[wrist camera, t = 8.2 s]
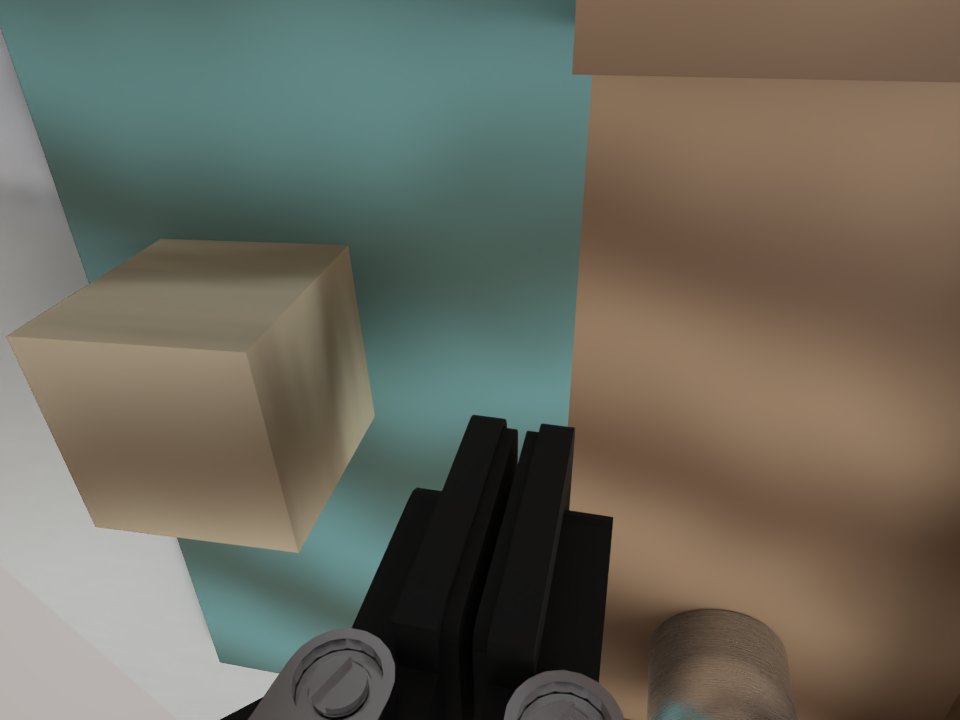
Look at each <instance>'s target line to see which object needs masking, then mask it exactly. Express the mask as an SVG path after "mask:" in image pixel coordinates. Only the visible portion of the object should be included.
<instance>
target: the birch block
mask: <svg viewBox="0 0 960 720" xmlns="http://www.w3.org/2000/svg"><path fill="white" fill-rule="evenodd" d="M6 337H7V339H8V341H9V343H10V346H11V348H12V350H13V352H14V354H15V356H16V358H17V361H18V363H19V365H20V367H21V369H22V371H23V373H24V375H25V378H26V380H27V382H28V384H29V386H30V388H31V390H32V393H33V395H34V397H35V399H36V401H37V403H38V405H39V407H40V410H41V412H42V414H43V416H44V418H45V420H46V422H47V425H48V427H49V429H50V431H51V433H52V435H53V437H54V439H55V442H56V444H57V446H58V448H59V450H60V452H61V454H62V457H63V459H64V461H65V463H66V465H67V467H68V469H69V471H70V474H71V476H72V478H73V480H74V482H75V484H76V486H77V489H78V491H79V493H80V495H81V497H82V499H83V501H84V504H85V506H86V508H87V510H88V512H89V514H90V516H91V518H92V521H93V523H94V525H95V527H100V528H108V529H115V530H123V531H131V532H139V533H147V534H154V535H162V536H170V537H178V538H186V539H193V540H201V541H209V542H217V543H225V544H232V545H240V546H248V547H256V548H264V549H271V550H279V551H287V552H295V553H299V551H300V550H301V548H302V546H303V544H304V542H305V541H306V539H307V537H308V535H309V533H310V532H311V530H312V528H313V526H314V524H315V523H316V521H317V519H318V517H319V515H320V514H321V512H322V510H323V508H324V507H325V505H326V503H327V501H328V499H329V498H330V496H331V494H332V492H333V490H334V489H335V487H336V485H337V483H338V481H339V480H340V478H341V476H342V474H343V472H344V471H345V469H346V467H347V465H348V463H349V462H350V460H351V458H352V456H353V454H354V453H355V451H356V449H357V447H358V445H359V444H360V442H361V440H362V438H363V436H364V435H365V433H366V431H367V429H368V428H369V426H370V424H371V422H372V420H373V419H374V417H375V414H374V407H373V401H372V394H371V388H370V382H369V375H368V369H367V363H366V356H365V350H364V343H363V337H362V331H361V324H360V318H359V312H358V305H357V299H356V292H355V286H354V280H353V273H352V267H351V261H350V254H349V248H348V245H331V244H301V243H271V242H241V241H211V240H181V239H160V240H158V241H156V242H155V243H153V244H152V245H150V246H148V247H147V248H145V249H144V250H142V251H140V252H139V253H137V254H136V255H134V256H133V257H131V258H129V259H128V260H126V261H125V262H123V263H121V264H120V265H118V266H117V267H115V268H114V269H112V270H110V271H109V272H107V273H106V274H104V275H102V276H101V277H99V278H98V279H96V280H94V281H93V282H91V283H90V284H88V285H87V286H85V287H83V288H82V289H80V290H79V291H77V292H75V293H74V294H72V295H71V296H69V297H68V298H66V299H64V300H63V301H61V302H60V303H58V304H56V305H55V306H53V307H52V308H50V309H48V310H47V311H45V312H44V313H42V314H41V315H39V316H37V317H36V318H34V319H33V320H31V321H29V322H28V323H26V324H25V325H23V326H21V327H20V328H18V329H17V330H15V331H14V332H12V333H10V334H9V335H7V336H6Z"/></svg>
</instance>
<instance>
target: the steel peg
mask: <svg viewBox="0 0 960 720" xmlns="http://www.w3.org/2000/svg"><path fill="white" fill-rule="evenodd" d="M647 720H797V714H796V708H795V701H794V695H793V689H792V682H791V676H790V669H789V663H788V657H787V652H786V649H785V646H784V645H783V643H782V641H781V640H780V639H779V637H778V636H777V635H776V634H775V633H774V632H773V631H772V630H770V629H769V628H768V627H766V626H765V625H763V624H762V623H760V622H758V621H756V620H754V619H752V618H750V617H747V616H744V615H742V614H738V613H734V612H730V611H724V610H714V609H702V610H693V611H688V612H684V613H680V614H677V615H675V616H672V617H670V618H669V619H667V620H665V621H664V622H663V623H661V624H660V625H659V626H658V627H657V628H656V629H655V631H654V633H653V634H652V637H651V639H650V645H649V670H648V696H647Z"/></svg>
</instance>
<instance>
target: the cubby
mask: <svg viewBox="0 0 960 720" xmlns="http://www.w3.org/2000/svg"><path fill="white" fill-rule="evenodd" d="M0 27H1V30H2V33H3V36H4V38H5V41H6V44H7V47H8V50H9V53H10V56H11V59H12V62H13V65H14V67H15V70H16V73H17V76H18V79H19V82H20V85H21V88H22V91H23V93H24V96H25V99H26V102H27V105H28V108H29V111H30V114H31V117H32V119H33V122H34V125H35V128H36V131H37V134H38V137H39V140H40V143H41V146H42V148H43V151H44V154H45V157H46V160H47V163H48V166H49V169H50V172H51V174H52V177H53V180H54V183H55V186H56V189H57V192H58V195H59V198H60V201H61V203H62V206H63V209H64V212H65V215H66V218H67V221H68V224H69V227H70V229H71V232H72V235H73V238H74V241H75V244H76V247H77V250H78V253H79V255H80V258H81V261H82V264H83V267H84V270H85V273H86V276H87V279H88V282H89V284H90V283H91V282H93V281H94V280H96V279H98V278H99V277H101V276H102V275H104V274H106V273H107V272H109V271H110V270H112V269H114V268H115V267H117V266H118V265H120V264H121V263H123V262H125V261H126V260H128V259H129V258H131V257H133V256H134V255H136V254H137V253H139V252H140V251H142V250H144V249H145V248H147V247H148V246H150V245H152V244H153V243H155V242H156V241H158V240H160V239H181V240H211V241H241V242H271V243H301V244H331V245H348V248H349V254H350V261H351V267H352V273H353V280H354V286H355V292H356V299H357V305H358V312H359V318H360V324H361V331H362V337H363V343H364V350H365V356H366V363H367V369H368V375H369V382H370V388H371V394H372V401H373V407H374V414H375V417H374V419H373V420H372V422H371V424H370V426H369V428H368V429H367V431H366V433H365V435H364V436H363V438H362V440H361V442H360V444H359V445H358V447H357V449H356V451H355V453H354V454H353V456H352V458H351V460H350V462H349V463H348V465H347V467H346V469H345V471H344V472H343V474H342V476H341V478H340V480H339V481H338V483H337V485H336V487H335V489H334V490H333V492H332V494H331V496H330V498H329V499H328V501H327V503H326V505H325V507H324V508H323V510H322V512H321V514H320V515H319V517H318V519H317V521H316V523H315V524H314V526H313V528H312V530H311V532H310V533H309V535H308V537H307V539H306V541H305V542H304V544H303V546H302V548H301V550H300V551H299V553H295V552H287V551H279V550H271V549H264V548H256V547H248V546H240V545H232V544H225V543H217V542H209V541H201V540H193V539H186V538H178V537H177V539H178V542H179V545H180V548H181V551H182V554H183V556H184V559H185V562H186V565H187V568H188V571H189V574H190V577H191V580H192V582H193V585H194V588H195V591H196V594H197V597H198V600H199V603H200V606H201V609H202V611H203V614H204V617H205V620H206V623H207V626H208V629H209V632H210V635H211V637H212V640H213V643H214V646H215V649H216V652H217V655H218V658H219V661H220V662H221V663H227V664H232V665H237V666H243V667H248V668H253V669H259V670H264V671H269V672H275V673H280V672H281V671H282V669H283V668H284V666H285V665H286V663H287V662H288V660H289V659H290V658H291V657H292V656H293V655H294V654H295V652H296V651H297V650H298V649H299V648H300V647H301V646H302V645H304V644H305V643H307V642H308V641H309V640H311V639H312V638H314V637H315V636H317V635H320V634H323V633H326V632H328V631H331V630H335V629H346V628H352V626H353V623H354V621H355V619H356V617H357V614H358V612H359V610H360V608H361V605H362V603H363V601H364V598H365V596H366V594H367V592H368V589H369V587H370V585H371V583H372V580H373V578H374V576H375V574H376V571H377V569H378V567H379V565H380V562H381V560H382V558H383V555H384V553H385V551H386V549H387V546H388V544H389V542H390V540H391V537H392V535H393V533H394V531H395V528H396V526H397V524H398V522H399V519H400V517H401V515H402V512H403V510H404V508H405V506H406V503H407V501H408V499H409V497H410V495H411V493H412V491H413V490H414V489H415V488H416V487H418V488H424V489H431V490H438V491H442V490H443V487H444V484H445V482H446V479H447V477H448V474H449V472H450V469H451V466H452V464H453V461H454V459H455V456H456V454H457V451H458V449H459V446H460V443H461V441H462V438H463V436H464V433H465V431H466V428H467V425H468V423H469V420H470V418H471V416H472V415H480V416H487V417H495V418H503V419H506V421H507V428H512V429H517V430H518V461H519V458H520V454H521V450H522V447H523V443H524V439H525V436H526V432H527V431H535V432H539V429H540V426H541V424H542V423H543V424H551V425H559V426H566V427H574V428H575V441H574V454H573V467H572V480H571V494H570V507H569V510H570V511H577V512H584V513H590V514H597V515H603V516H610V517H613V528H612V540H611V551H610V562H609V574H608V585H607V596H606V608H605V619H604V630H603V642H602V653H601V664H600V676H599V684H600V685H601V686H603V687H604V688H605V689H606V690H607V691H608V692H609V693H610V694H611V695H612V696H613V698H614V699H615V701H616V703H617V704H618V706H619V707H620V709H621V711H622V713H623V717H624V720H647V696H648V670H649V645H650V639H651V637H652V634H653V633H654V631H655V629H656V628H657V627H658V626H659V625H660V624H661V623H663V622H664V621H665V620H667V619H669V618H670V617H672V616H675V615H677V614H680V613H684V612H688V611H693V610H702V609H714V610H724V611H730V612H734V613H738V614H742V615H744V616H747V617H750V618H752V619H754V620H756V621H758V622H760V623H762V624H763V625H765V626H766V627H768V628H769V629H770V630H772V631H773V632H774V633H775V634H776V635H777V636H778V637H779V639H780V640H781V641H782V643H783V645H784V646H785V649H786V652H787V657H788V663H789V669H790V676H791V682H792V689H793V695H794V701H795V708H796V714H797V720H960V0H0Z"/></svg>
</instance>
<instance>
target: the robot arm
mask: <svg viewBox="0 0 960 720" xmlns="http://www.w3.org/2000/svg"><path fill="white" fill-rule="evenodd" d="M574 441H575V428H574V427H566V426H559V425H551V424H543V423H542V424H541V426H540V429H539V432H535V431H527V432H526V436H525V439H524V443H523V447H522V450H521V454H520V458H519V461H518V430H517V429H512V428H507V421H506V419H503V418H495V417H487V416H480V415H472V416H471V418H470V420H469V423H468V425H467V428H466V431H465V433H464V436H463V438H462V441H461V443H460V446H459V449H458V451H457V454H456V456H455V459H454V461H453V464H452V466H451V469H450V472H449V474H448V477H447V479H446V482H445V484H444V487H443V490H442V491H438V490H431V489H424V488H418V487H416V488H415V489H414V490H413V491H412V493H411V495H410V497H409V499H408V501H407V503H406V506H405V508H404V510H403V512H402V515H401V517H400V519H399V522H398V524H397V526H396V528H395V531H394V533H393V535H392V537H391V540H390V542H389V544H388V546H387V549H386V551H385V553H384V555H383V558H382V560H381V562H380V565H379V567H378V569H377V571H376V574H375V576H374V578H373V580H372V583H371V585H370V587H369V589H368V592H367V594H366V596H365V598H364V601H363V603H362V605H361V608H360V610H359V612H358V614H357V617H356V619H355V621H354V623H353V626H352V628H346V629H335V630H331V631H328V632H326V633H323V634H320V635H317V636H315V637H314V638H312V639H311V640H309V641H308V642H307V643H305V644H304V645H302V646H301V647H300V648H299V649H298V650H297V651H296V652H295V654H294V655H293V656H292V657H291V658H290V659H289V660H288V662H287V663H286V665H285V666H284V668H283V669H282V671H281V672H280V674H279V675H278V677H277V678H276V679H275V681H274V682H273V684H272V685H271V687H270V688H269V690H268V691H267V693H266V694H265V696H264V697H263V698H261V699H259V700H257V701H255V702H253V703H251V704H249V705H247V706H245V707H244V708H242V709H240V710H238V711H236V712H234V713H232V714H230V715H228V716H226V717H224V718H223V719H221V720H624V717H623V713H622V711H621V709H620V707H619V706H618V704H617V703H616V701H615V699H614V698H613V696H612V695H611V694H610V693H609V692H608V691H607V690H606V689H605V688H604V687H603V686H601V685H600V684H599V676H600V664H601V653H602V642H603V630H604V619H605V608H606V596H607V585H608V574H609V562H610V551H611V540H612V528H613V517H610V516H603V515H597V514H590V513H584V512H577V511H570V510H569V507H570V494H571V480H572V467H573V454H574Z"/></svg>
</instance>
